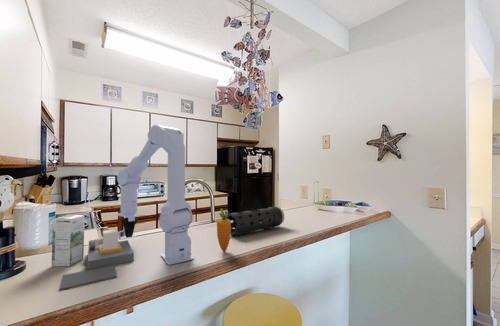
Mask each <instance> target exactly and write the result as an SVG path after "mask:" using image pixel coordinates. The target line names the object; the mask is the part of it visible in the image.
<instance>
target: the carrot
mask: <svg viewBox="0 0 500 326" xmlns="http://www.w3.org/2000/svg"><path fill="white" fill-rule="evenodd" d="M219 210H220V212H219V213H218V214H219V216H220V219H218V220H217V221H216V233H217V234H216V235H217V240H218V244H219V247H220V249H221V251H222V252H223V253H225V252H226V251H227V250H228V247H229V243H230V240H231V223H232V221H230V220H229V219H226V217H227V215H228V214H229V211H228V210H227V209H225V210H223V208H220V209H219Z"/></svg>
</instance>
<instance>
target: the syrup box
mask: <svg viewBox="0 0 500 326" xmlns="http://www.w3.org/2000/svg"><path fill="white" fill-rule="evenodd" d="M85 217H86V216H85V215H83V214H68V215H63V216H59V217H54V218H53V219H52V239H51V241H52V243H51V244H52V245H51V267H70V266H73V265H75V264H76V263H79V262H80V261H82V260H84V253H85V251H84V250H85V249H84V248H85V219H86V218H85Z"/></svg>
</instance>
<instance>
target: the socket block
mask: <svg viewBox="0 0 500 326" xmlns="http://www.w3.org/2000/svg"><path fill="white" fill-rule="evenodd" d="M118 243H120V245H121V250H120V251H114V252H109V253H103V254H100V252H99V246H103V244H101V245H98V246H95V249H94V250H89V246H88V249H87V253H88V254H87V270H91V269H95V268H100V267H105V266H110V265H114V266H115V265H120V264H124V263H125V264H126V263H129V262H134V261H135V251H134V250H133V248H132V246H131V245H130V243H129V241H128V240H127V239H126V240H120V241H118Z"/></svg>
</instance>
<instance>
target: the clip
mask: <svg viewBox="0 0 500 326" xmlns="http://www.w3.org/2000/svg"><path fill="white" fill-rule="evenodd" d="M123 237H124V238H125V237H126V236H125V231H124V229H123V230H120V231H118V239H120V238H123ZM101 244H103V236H101V237H98V238H95V239H90V240H89V241H88V247H89V250H94V249H95V246H98V245H101Z"/></svg>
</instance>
